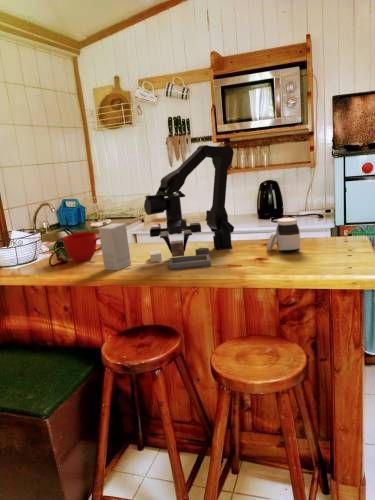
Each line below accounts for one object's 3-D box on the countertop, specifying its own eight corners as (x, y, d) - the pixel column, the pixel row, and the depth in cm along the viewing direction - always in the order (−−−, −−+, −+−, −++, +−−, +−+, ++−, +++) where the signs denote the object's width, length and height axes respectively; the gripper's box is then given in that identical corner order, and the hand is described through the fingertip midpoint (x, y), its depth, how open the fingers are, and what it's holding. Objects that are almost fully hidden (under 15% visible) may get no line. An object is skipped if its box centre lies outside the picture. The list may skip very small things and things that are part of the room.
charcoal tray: (209, 259, 144) (208, 254, 144) (211, 266, 135) (210, 260, 135) (170, 263, 144) (169, 257, 144) (169, 270, 135) (169, 264, 135)
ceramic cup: (100, 263, 154) (96, 237, 152) (60, 264, 158) (56, 240, 156) (113, 254, 167) (109, 231, 164) (75, 256, 170) (72, 233, 168)
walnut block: (184, 252, 152) (182, 240, 151) (184, 255, 148) (182, 242, 147) (172, 254, 152) (170, 241, 151) (172, 257, 148) (170, 243, 147)
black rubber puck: (209, 255, 151) (208, 247, 150) (210, 258, 146) (209, 250, 146) (195, 256, 151) (195, 248, 150) (196, 259, 146) (195, 251, 145)
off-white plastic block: (161, 257, 155) (160, 250, 154) (161, 261, 149) (161, 253, 148) (150, 258, 154) (149, 251, 154) (151, 262, 148) (150, 254, 148)
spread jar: (302, 253, 140) (301, 220, 137) (270, 256, 140) (268, 223, 137) (294, 246, 151) (293, 215, 149) (264, 248, 152) (262, 218, 149)
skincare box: (118, 263, 151) (113, 222, 147) (132, 264, 147) (127, 222, 144) (103, 270, 144) (97, 227, 140) (117, 271, 141) (111, 227, 137)
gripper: (146, 216, 139) (151, 260, 142) (200, 211, 139) (204, 254, 142) (148, 212, 149) (153, 252, 153) (198, 207, 149) (202, 247, 153)
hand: (177, 252), depth 150 cm, fingers closed on walnut block, 4 cm apart
